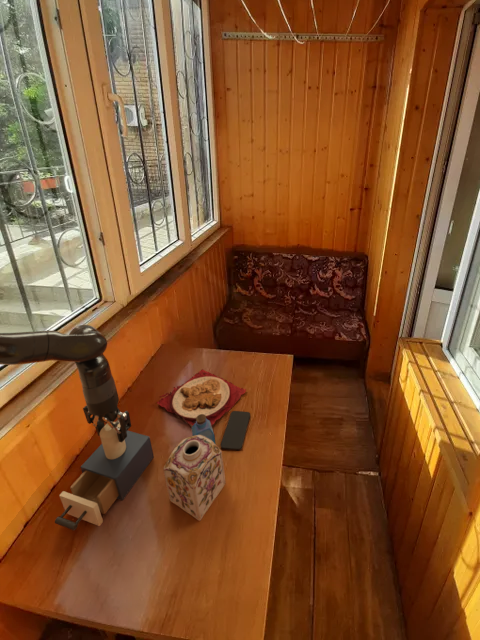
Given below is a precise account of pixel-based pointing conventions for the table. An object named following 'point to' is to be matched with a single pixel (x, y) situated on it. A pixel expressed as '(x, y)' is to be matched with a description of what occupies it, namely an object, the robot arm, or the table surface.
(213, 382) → the plate with food
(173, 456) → the decorative jar
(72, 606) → the table surface
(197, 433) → the perfume bottle
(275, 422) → the table surface
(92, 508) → the drawer
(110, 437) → the candle
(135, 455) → the cabinet
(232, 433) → the phone
